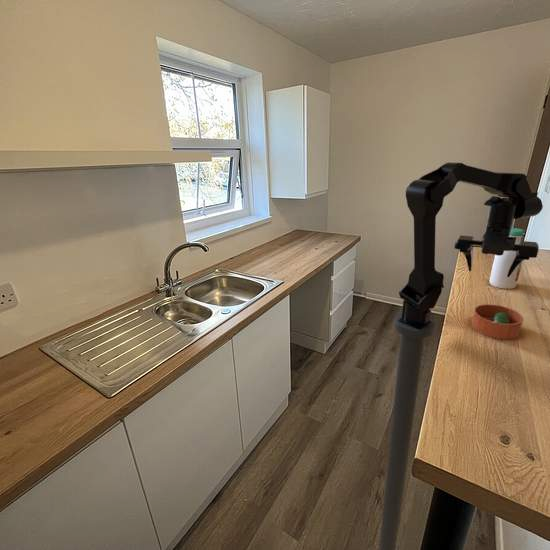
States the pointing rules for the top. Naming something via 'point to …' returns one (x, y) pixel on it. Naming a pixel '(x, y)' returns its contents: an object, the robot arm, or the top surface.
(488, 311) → the bowl
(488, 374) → the top surface
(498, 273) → the milk bottle
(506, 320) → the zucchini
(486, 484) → the top surface
